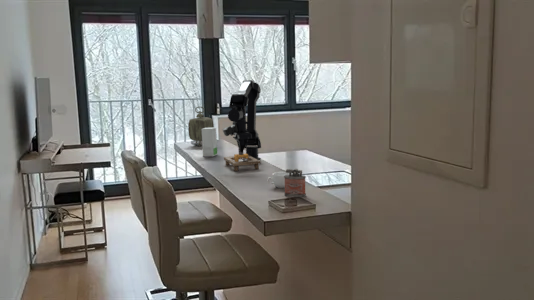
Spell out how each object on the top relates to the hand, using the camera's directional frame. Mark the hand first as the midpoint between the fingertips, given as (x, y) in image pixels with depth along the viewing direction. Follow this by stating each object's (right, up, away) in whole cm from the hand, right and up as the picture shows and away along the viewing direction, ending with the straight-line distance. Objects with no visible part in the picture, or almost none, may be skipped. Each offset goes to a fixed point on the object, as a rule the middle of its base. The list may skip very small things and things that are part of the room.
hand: (241, 151), depth 246 cm
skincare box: (-19, -3, +38) cm, 43 cm away
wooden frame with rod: (0, -7, +1) cm, 8 cm away
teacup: (+18, -14, -44) cm, 50 cm away
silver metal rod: (0, -4, +1) cm, 4 cm away
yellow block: (0, -6, +1) cm, 6 cm away
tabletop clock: (-30, +3, +79) cm, 84 cm away
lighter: (+23, -16, -59) cm, 65 cm away
